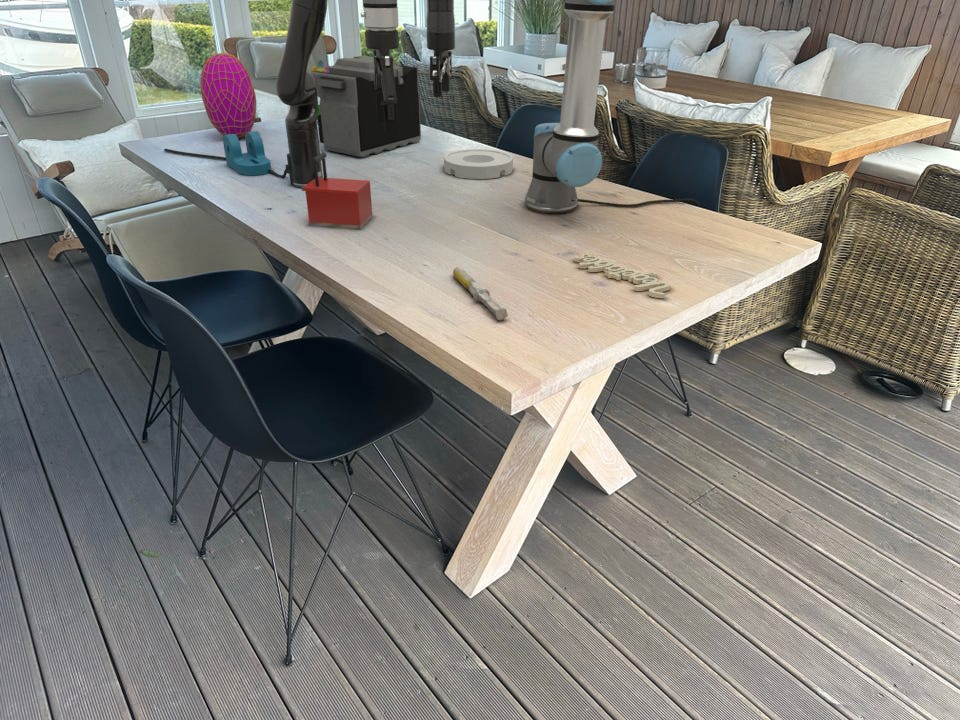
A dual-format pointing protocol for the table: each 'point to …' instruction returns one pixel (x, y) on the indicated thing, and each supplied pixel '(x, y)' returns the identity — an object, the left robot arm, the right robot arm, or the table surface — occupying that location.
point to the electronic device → (364, 108)
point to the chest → (339, 209)
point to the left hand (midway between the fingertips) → (441, 94)
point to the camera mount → (246, 154)
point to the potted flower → (322, 69)
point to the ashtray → (478, 163)
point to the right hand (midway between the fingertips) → (387, 127)
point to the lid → (333, 181)
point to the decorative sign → (625, 274)
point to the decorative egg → (228, 95)
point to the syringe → (479, 293)
